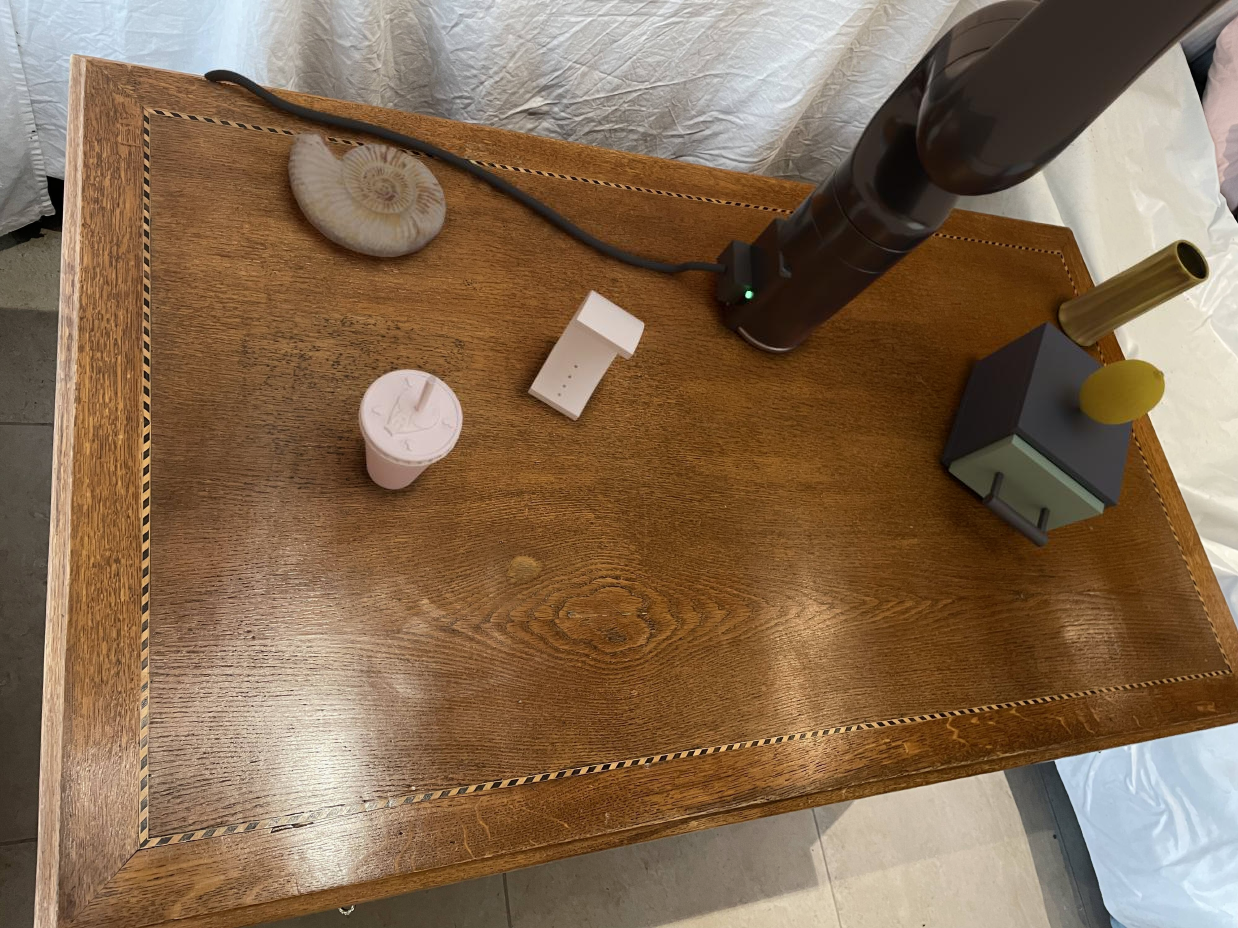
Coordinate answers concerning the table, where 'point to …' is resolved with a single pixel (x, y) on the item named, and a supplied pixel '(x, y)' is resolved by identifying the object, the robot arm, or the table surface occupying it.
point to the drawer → (1025, 488)
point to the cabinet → (1041, 410)
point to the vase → (1133, 292)
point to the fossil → (366, 196)
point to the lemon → (1122, 391)
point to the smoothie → (407, 425)
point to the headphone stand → (585, 354)
